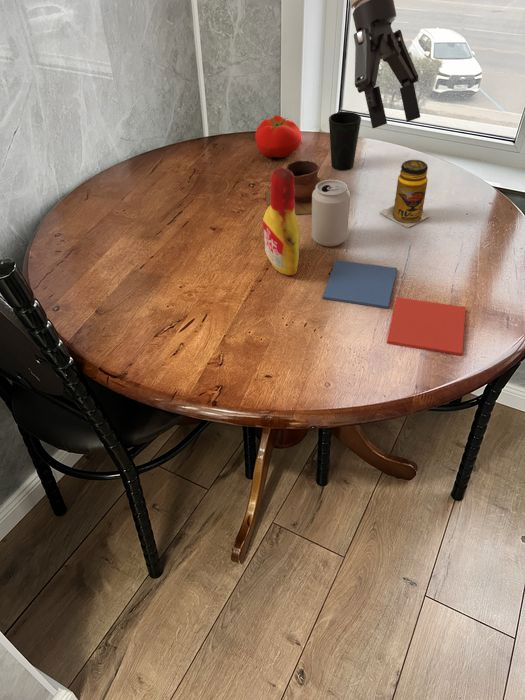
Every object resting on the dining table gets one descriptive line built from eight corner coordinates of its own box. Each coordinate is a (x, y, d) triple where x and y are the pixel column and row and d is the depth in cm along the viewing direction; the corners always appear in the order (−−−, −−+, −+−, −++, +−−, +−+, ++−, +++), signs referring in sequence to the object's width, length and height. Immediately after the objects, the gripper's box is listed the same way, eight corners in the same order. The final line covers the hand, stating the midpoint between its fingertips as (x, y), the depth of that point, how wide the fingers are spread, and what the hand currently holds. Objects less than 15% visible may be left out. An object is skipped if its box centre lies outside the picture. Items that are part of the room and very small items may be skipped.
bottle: (306, 278, 104) (307, 181, 90) (274, 284, 103) (270, 187, 89) (291, 245, 113) (289, 152, 99) (261, 250, 112) (255, 157, 98)
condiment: (407, 228, 115) (416, 175, 107) (378, 213, 120) (384, 161, 112) (430, 216, 118) (440, 164, 110) (401, 202, 123) (408, 150, 115)
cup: (326, 159, 141) (328, 112, 132) (356, 158, 140) (359, 111, 132) (328, 173, 135) (329, 124, 127) (358, 172, 135) (362, 123, 126)
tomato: (297, 165, 139) (297, 132, 133) (250, 162, 142) (248, 130, 136) (305, 144, 148) (306, 112, 142) (261, 142, 150) (260, 110, 144)
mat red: (465, 309, 95) (465, 306, 95) (461, 355, 87) (462, 353, 87) (396, 299, 98) (396, 296, 98) (386, 343, 90) (387, 340, 90)
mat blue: (396, 270, 104) (397, 267, 104) (388, 308, 96) (388, 306, 96) (335, 262, 107) (335, 259, 107) (322, 298, 99) (322, 296, 99)
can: (316, 227, 117) (317, 175, 109) (350, 232, 115) (354, 179, 107) (307, 245, 112) (307, 192, 104) (342, 251, 110) (346, 197, 102)
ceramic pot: (265, 216, 121) (264, 187, 117) (264, 179, 134) (263, 152, 129) (346, 212, 121) (347, 183, 116) (336, 175, 134) (338, 148, 129)
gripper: (387, 15, 110) (409, 123, 115) (316, 9, 93) (346, 135, 98) (421, -3, 105) (443, 111, 110) (352, -13, 88) (382, 122, 93)
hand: (397, 122), depth 104 cm, fingers open, 13 cm apart
